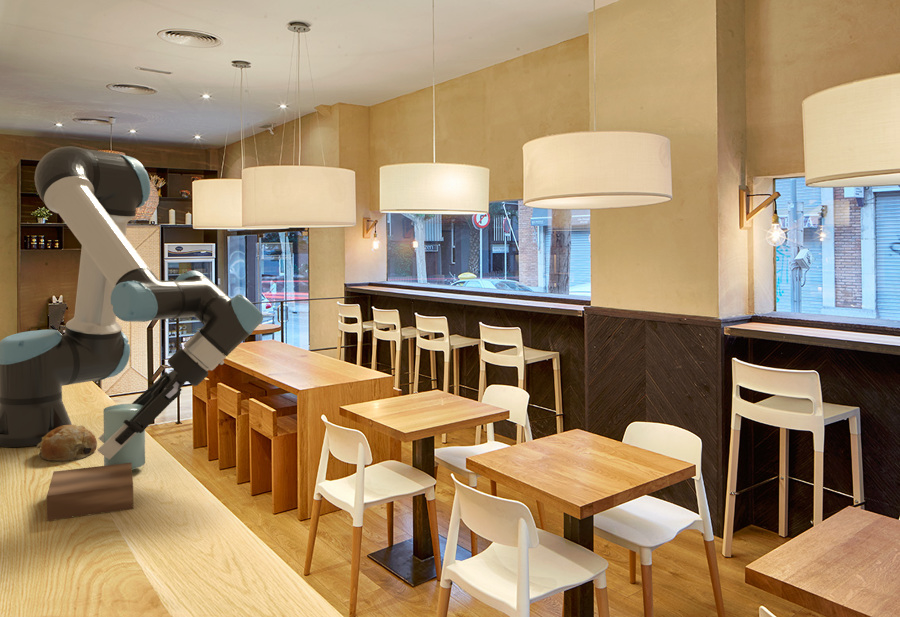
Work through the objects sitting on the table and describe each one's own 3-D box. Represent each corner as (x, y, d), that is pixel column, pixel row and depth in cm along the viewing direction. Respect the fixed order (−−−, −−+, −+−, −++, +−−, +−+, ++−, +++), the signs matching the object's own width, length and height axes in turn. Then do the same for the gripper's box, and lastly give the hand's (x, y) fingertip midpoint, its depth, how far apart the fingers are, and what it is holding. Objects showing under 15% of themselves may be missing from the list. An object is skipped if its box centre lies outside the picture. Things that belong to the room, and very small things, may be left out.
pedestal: (54, 494, 109) (53, 471, 109) (131, 484, 115) (131, 462, 114) (47, 520, 98) (46, 496, 98) (133, 508, 104) (133, 484, 104)
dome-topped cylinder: (104, 460, 123) (103, 405, 122) (144, 456, 126) (144, 402, 125) (103, 472, 116) (103, 414, 115) (145, 468, 120) (145, 411, 119)
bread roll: (61, 481, 125) (75, 447, 123) (21, 455, 126) (34, 421, 125) (98, 465, 134) (112, 433, 133) (60, 441, 136) (73, 409, 134)
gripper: (217, 382, 118) (119, 478, 112) (204, 363, 135) (119, 445, 129) (186, 355, 115) (85, 452, 109) (177, 339, 132) (89, 422, 126)
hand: (103, 448), depth 119 cm, fingers closed on dome-topped cylinder, 7 cm apart
